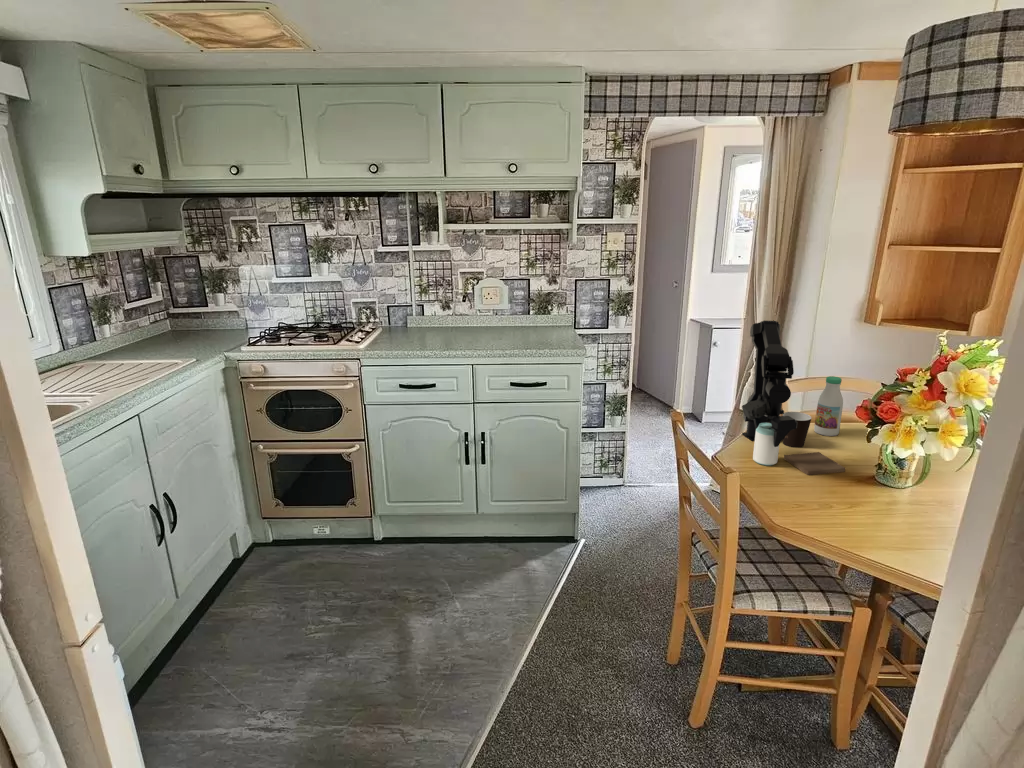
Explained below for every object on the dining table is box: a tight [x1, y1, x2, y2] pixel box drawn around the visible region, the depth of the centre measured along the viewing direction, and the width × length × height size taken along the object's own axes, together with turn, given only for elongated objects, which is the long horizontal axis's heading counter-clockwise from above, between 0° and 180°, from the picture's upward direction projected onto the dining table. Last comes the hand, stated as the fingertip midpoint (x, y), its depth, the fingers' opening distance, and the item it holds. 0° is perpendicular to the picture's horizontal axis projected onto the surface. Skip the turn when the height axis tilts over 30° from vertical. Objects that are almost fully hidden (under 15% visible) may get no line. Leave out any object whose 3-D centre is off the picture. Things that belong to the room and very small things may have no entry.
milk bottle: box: [813, 375, 844, 437], centre depth 197 cm, size 8×8×20 cm
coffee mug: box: [782, 411, 812, 449], centre depth 191 cm, size 12×9×10 cm
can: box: [752, 423, 780, 466], centre depth 177 cm, size 7×7×12 cm
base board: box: [783, 451, 846, 476], centre depth 175 cm, size 12×12×1 cm
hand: (767, 440), depth 177 cm, fingers open, 9 cm apart
